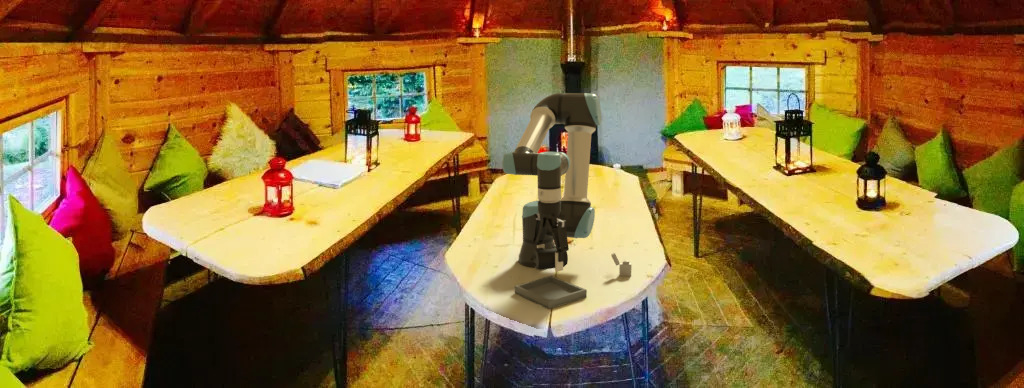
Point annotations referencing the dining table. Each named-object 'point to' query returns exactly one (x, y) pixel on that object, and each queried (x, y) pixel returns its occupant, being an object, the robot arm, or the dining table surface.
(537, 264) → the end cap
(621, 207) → the dining table surface
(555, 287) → the seat tray
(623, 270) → the lighter
